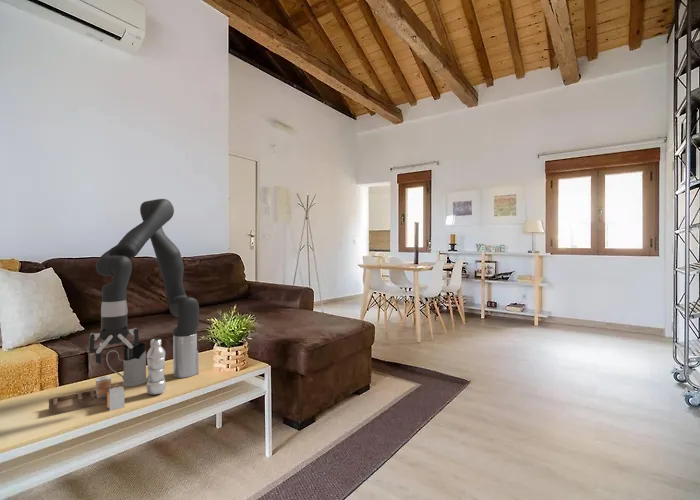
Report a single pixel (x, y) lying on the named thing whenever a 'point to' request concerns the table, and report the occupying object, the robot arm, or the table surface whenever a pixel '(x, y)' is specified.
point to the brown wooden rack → (81, 398)
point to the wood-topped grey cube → (115, 398)
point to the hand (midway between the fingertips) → (114, 361)
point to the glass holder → (133, 366)
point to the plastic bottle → (156, 368)
